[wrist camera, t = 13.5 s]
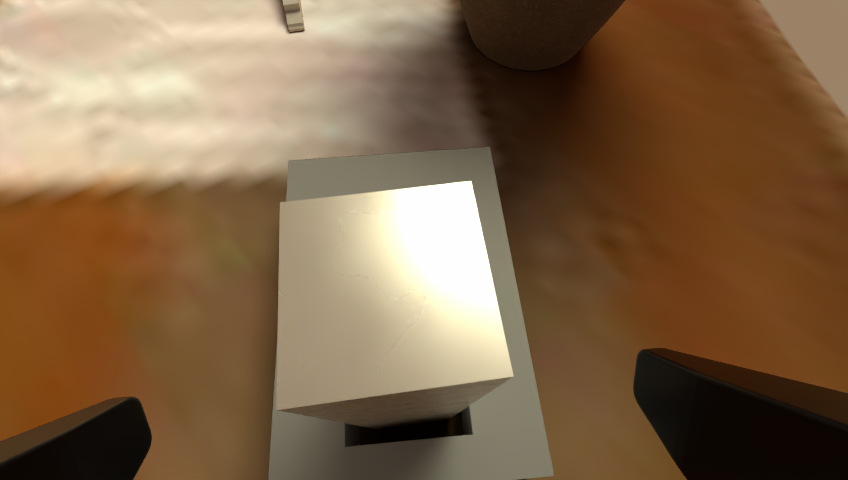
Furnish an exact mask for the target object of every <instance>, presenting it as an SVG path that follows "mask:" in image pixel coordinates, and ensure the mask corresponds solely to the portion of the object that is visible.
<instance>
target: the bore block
mask: <svg viewBox="0 0 848 480" xmlns="http://www.w3.org/2000/svg"><path fill="white" fill-rule="evenodd" d="M469 181H471V183H472V188H473V193H474V197H475V202H476V206H477V211H478V216H479V220H480V225H481V229H482V234H483V238H484V243H485V248H486V252H487V257H488V261H489V266H490V270H491V275H492V280H493V284H494V289H495V293H496V298H497V302H498V307H499V312H500V316H501V321H502V325H503V330H504V334H505V339H506V344H507V348H508V353H509V357H510V362H511V367H512V371H513V376H514V377H512V378H511V379H509V380H508V381H506V382H505V383H503V384H502V385H500V386H499V387H497V388H495V389H494V390H492V391H491V392H489V393H488V394H486V395H485V396H483V397H482V398H480V399H479V400H477V401H476V402H474V403H473V404H471V405H470V406H468V407H467V408H465V409H464V410H462V411H461V419H462V428H463V435H459V436H449V437H438V438H428V439H418V440H408V441H398V442H388V443H378V444H367V445H359V426H357V425H352V424H347V423H341V422H336V421H331V420H325V419H320V418H315V417H310V416H304V415H299V414H294V413H288V412H283V411H278V410H276V397H277V351H276V367H275V382H274V398H273V414H272V429H271V445H270V460H269V476H268V480H518V479H528V478H537V477H547V476H554V472H553V467H552V462H551V457H550V452H549V447H548V442H547V437H546V431H545V426H544V421H543V416H542V411H541V406H540V401H539V396H538V391H537V385H536V380H535V375H534V370H533V365H532V360H531V355H530V350H529V344H528V339H527V334H526V329H525V324H524V319H523V314H522V309H521V304H520V298H519V293H518V288H517V283H516V278H515V273H514V268H513V263H512V258H511V252H510V247H509V242H508V237H507V232H506V227H505V222H504V217H503V212H502V206H501V201H500V196H499V191H498V186H497V181H496V176H495V171H494V166H493V160H492V155H491V150H490V147H478V148H464V149H450V150H435V151H421V152H406V153H392V154H377V155H363V156H348V157H334V158H319V159H305V160H291V161H289V164H288V180H287V195H286V202H288V201H297V200H306V199H315V198H324V197H333V196H342V195H351V194H360V193H369V192H378V191H387V190H397V189H406V188H415V187H424V186H433V185H442V184H451V183H460V182H469ZM277 341H278V336H277Z"/></svg>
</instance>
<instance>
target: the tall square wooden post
mask: <svg viewBox="0 0 848 480" xmlns="http://www.w3.org/2000/svg"><path fill="white" fill-rule="evenodd" d="M512 377H514V376H513V371H512V367H511V362H510V357H509V353H508V348H507V344H506V339H505V334H504V330H503V325H502V321H501V316H500V312H499V307H498V302H497V298H496V293H495V289H494V284H493V280H492V275H491V270H490V266H489V261H488V257H487V252H486V248H485V243H484V238H483V234H482V229H481V225H480V220H479V216H478V211H477V206H476V202H475V197H474V193H473V188H472V183H471V181H469V182H460V183H451V184H442V185H433V186H424V187H415V188H406V189H397V190H387V191H378V192H369V193H360V194H351V195H342V196H333V197H324V198H315V199H306V200H297V201H288V202H280V230H279V286H278V341H277V397H276V410H278V411H283V412H288V413H294V414H299V415H304V416H310V417H315V418H320V419H325V420H331V421H336V422H341V423H347V424H352V425H357V426H362V427H368V428H373V429H382V428H389V427H396V426H403V425H410V424H416V423H423V422H430V421H437V420H444V419H450V418H451V417H453V416H454V415H456V414H458V413H459V412H461V411H462V410H464V409H465V408H467V407H468V406H470V405H471V404H473V403H474V402H476V401H477V400H479V399H480V398H482V397H483V396H485V395H486V394H488V393H489V392H491V391H492V390H494V389H495V388H497V387H499V386H500V385H502V384H503V383H505V382H506V381H508V380H509V379H511V378H512Z"/></svg>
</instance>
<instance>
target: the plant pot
mask: <svg viewBox="0 0 848 480" xmlns="http://www.w3.org/2000/svg"><path fill="white" fill-rule="evenodd" d="M459 1H460V4H461V7H462V11H463V14H464V17H465V20H466V23H467V26H468V30H469V33H470V35H471V38H472V41H473V42H474V44H475V46H476V47H477V48H478V49H479V50H480V51H481V52H482V53H483V54H484V55H485V56H486V57H488V58H489V59H491V60H493V61H494V62H496V63H498V64H501V65H503V66H506V67H509V68H513V69H518V70H530V71H534V70H544V69H549V68H553V67H556V66H559V65H561V64H563V63H565V62H567V61H568V60H569V59H571V58H572V57H573V56H574V55H575V54H576V53H577V52H578V51H579V50H580V49H581V48H582V47H583V46H584V45H585V44H586V43H587V42H588V41H589V40H590V39H591V38H592V37H593V36H594V35H595V34H596V33H597V32H598V30H599V29H600V28H601V27H602V26H603V25H604V24H605V23H606V22H607V21H608V20H609V19H610V17H611V16H612V15H613V14H614V13H615V12H616V11H617V9H618V8H619V7H620V6H621V5H622V4H623V2H624V1H625V0H459Z"/></svg>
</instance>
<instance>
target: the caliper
mask: <svg viewBox="0 0 848 480" xmlns="http://www.w3.org/2000/svg"><path fill="white" fill-rule="evenodd" d="M282 1H283V6H284V9H285V12H286V18H287V25H288V29H289V32H294V31H301V30H305V29H304V23H303V18H302V17H303V15H302V8H301V2H300V0H282Z"/></svg>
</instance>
